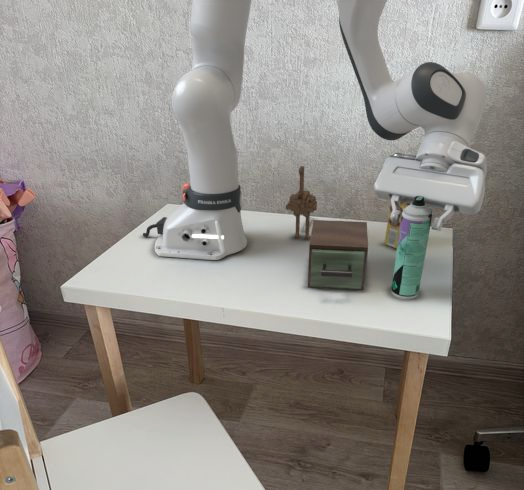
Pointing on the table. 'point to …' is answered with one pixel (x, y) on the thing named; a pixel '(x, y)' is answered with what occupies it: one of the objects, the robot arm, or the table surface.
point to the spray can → (411, 249)
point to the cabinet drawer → (337, 268)
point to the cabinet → (338, 240)
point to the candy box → (394, 227)
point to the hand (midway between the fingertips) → (414, 224)
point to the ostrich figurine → (302, 205)
